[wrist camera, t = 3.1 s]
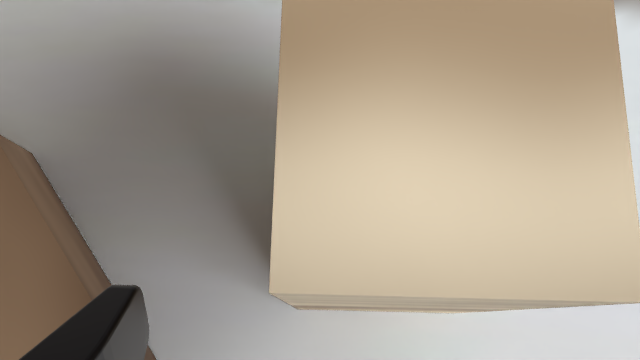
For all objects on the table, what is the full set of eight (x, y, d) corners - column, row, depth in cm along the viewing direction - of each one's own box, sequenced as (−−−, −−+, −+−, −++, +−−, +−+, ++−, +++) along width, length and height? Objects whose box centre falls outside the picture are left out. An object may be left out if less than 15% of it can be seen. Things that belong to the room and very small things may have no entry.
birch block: (453, 313, 18) (648, 302, 7) (297, 309, 18) (269, 292, 7) (448, 163, 19) (609, -31, 9) (302, 159, 19) (284, -39, 9)
